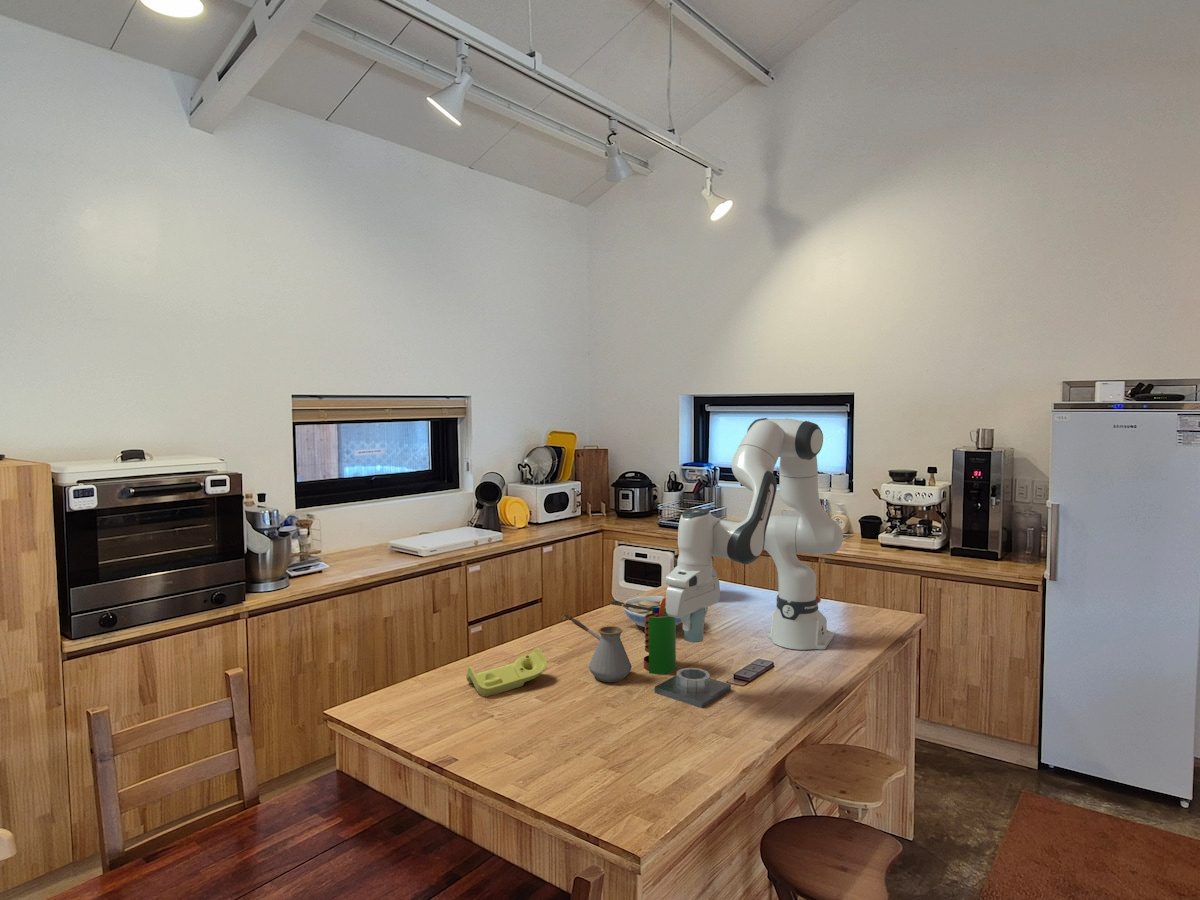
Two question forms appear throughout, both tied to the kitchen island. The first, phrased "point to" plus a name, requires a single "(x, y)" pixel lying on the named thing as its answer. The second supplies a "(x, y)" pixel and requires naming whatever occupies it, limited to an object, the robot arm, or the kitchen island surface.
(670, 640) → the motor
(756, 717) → the kitchen island surface
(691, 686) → the motor mount
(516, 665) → the plastic component
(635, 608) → the ramen bowl
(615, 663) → the coffee pot
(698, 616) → the capped teal cylinder
